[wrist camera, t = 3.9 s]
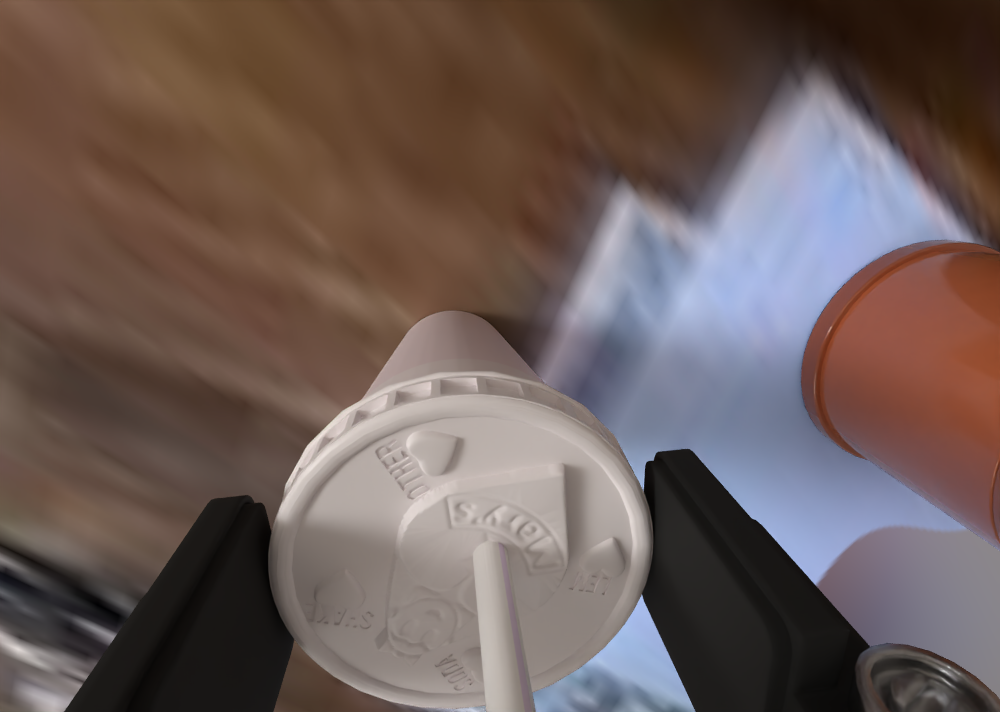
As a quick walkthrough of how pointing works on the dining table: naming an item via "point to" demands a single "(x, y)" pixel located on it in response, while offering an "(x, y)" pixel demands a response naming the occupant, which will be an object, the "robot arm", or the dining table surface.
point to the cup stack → (917, 375)
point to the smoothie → (459, 529)
